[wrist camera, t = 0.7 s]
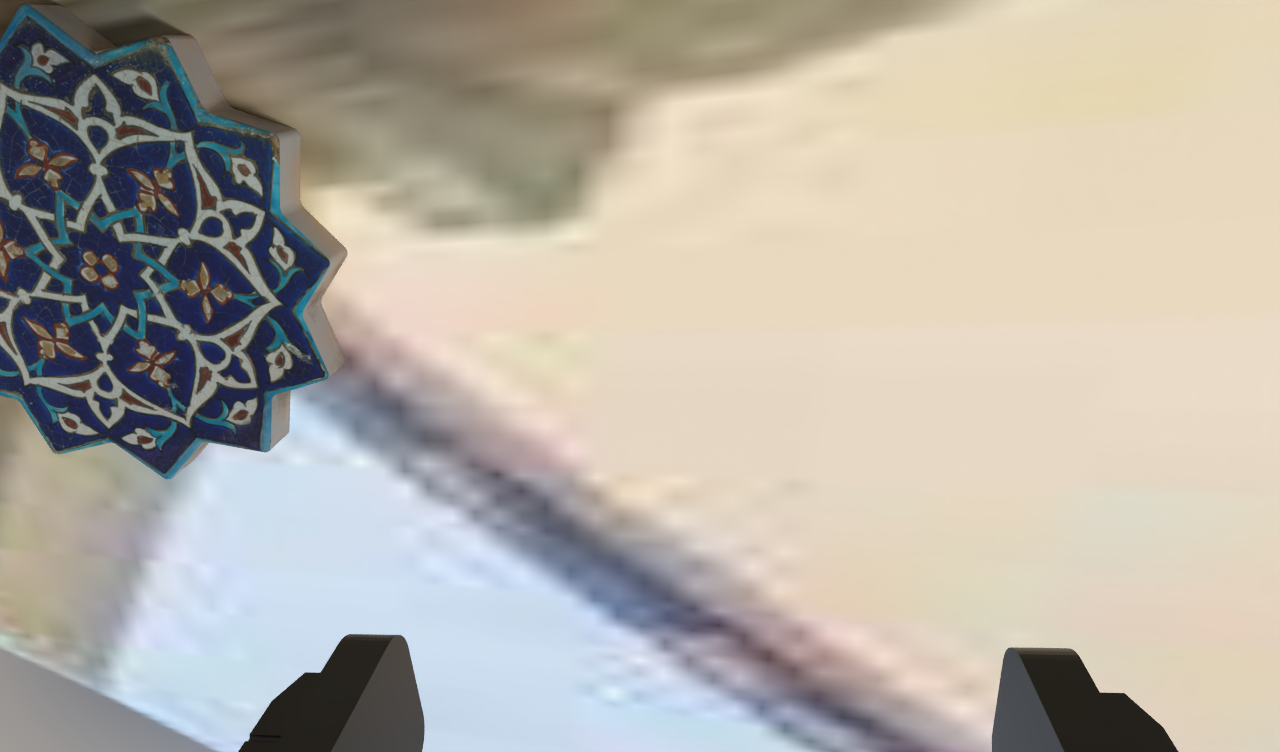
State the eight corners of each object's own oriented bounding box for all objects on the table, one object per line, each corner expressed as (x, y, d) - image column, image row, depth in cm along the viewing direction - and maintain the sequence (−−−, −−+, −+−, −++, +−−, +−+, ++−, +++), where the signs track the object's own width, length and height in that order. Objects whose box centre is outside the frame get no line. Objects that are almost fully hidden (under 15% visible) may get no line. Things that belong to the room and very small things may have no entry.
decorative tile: (218, 523, 42) (191, 550, 40) (-146, 268, 38) (-199, 282, 36) (442, 241, 35) (424, 254, 33) (28, -105, 31) (-23, -116, 29)
